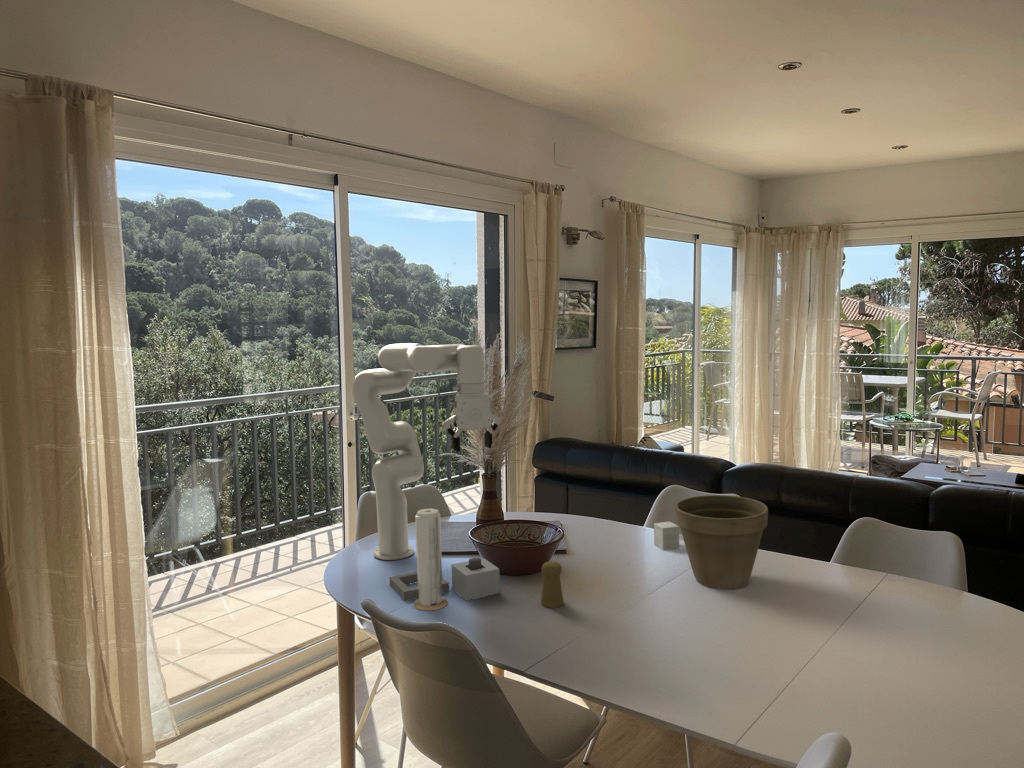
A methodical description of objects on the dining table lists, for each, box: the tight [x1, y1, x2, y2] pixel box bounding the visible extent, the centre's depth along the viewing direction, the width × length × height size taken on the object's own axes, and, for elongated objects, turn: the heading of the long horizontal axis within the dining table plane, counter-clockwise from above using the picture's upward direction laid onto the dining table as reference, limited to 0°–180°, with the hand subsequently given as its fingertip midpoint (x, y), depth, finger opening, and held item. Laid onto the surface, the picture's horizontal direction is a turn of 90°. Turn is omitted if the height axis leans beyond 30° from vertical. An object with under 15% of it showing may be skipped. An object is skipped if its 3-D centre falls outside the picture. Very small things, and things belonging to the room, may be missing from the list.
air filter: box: [414, 508, 444, 607], centre depth 193 cm, size 6×6×25 cm
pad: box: [413, 597, 449, 612], centre depth 194 cm, size 9×9×1 cm
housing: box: [451, 557, 501, 601], centre depth 202 cm, size 10×10×7 cm
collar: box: [388, 571, 450, 602], centre depth 205 cm, size 13×13×2 cm
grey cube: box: [653, 521, 680, 551], centre depth 235 cm, size 6×6×7 cm
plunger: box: [468, 557, 482, 570], centre depth 201 cm, size 3×3×4 cm
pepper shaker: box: [540, 560, 565, 609], centre depth 192 cm, size 6×6×11 cm
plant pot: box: [674, 494, 769, 590], centre depth 204 cm, size 25×25×22 cm
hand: (472, 449), depth 207 cm, fingers open, 9 cm apart
